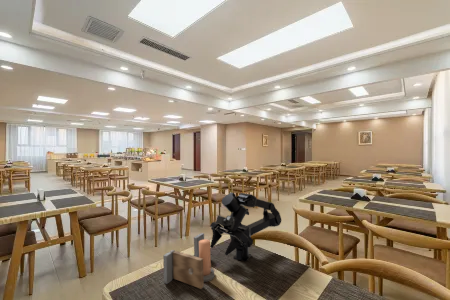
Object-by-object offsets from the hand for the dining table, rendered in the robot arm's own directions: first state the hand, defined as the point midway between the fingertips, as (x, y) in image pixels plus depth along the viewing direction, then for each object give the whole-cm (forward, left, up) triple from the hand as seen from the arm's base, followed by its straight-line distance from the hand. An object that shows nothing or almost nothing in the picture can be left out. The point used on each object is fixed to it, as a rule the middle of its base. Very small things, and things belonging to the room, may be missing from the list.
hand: (218, 251), depth 88 cm
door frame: (+6, -13, -7) cm, 16 cm away
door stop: (+7, -2, -8) cm, 10 cm away
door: (+14, -6, -7) cm, 17 cm away
